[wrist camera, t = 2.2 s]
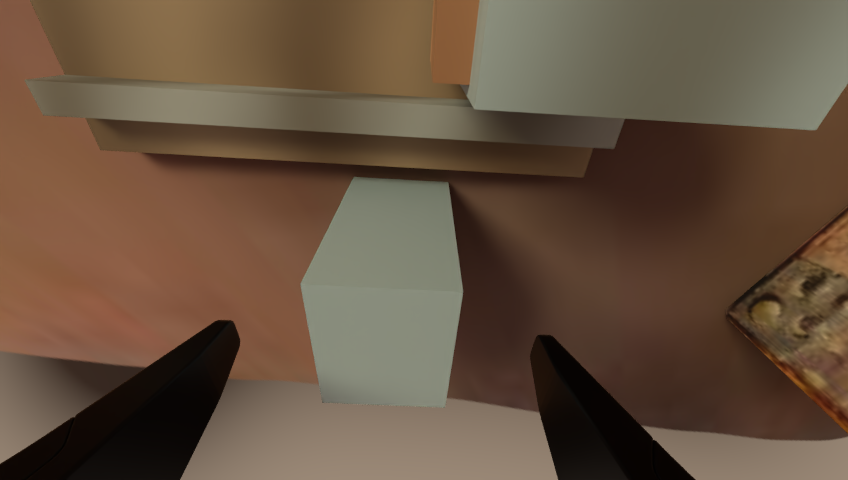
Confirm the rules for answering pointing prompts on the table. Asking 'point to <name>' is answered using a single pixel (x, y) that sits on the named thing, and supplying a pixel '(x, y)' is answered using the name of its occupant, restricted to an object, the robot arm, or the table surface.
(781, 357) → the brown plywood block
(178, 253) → the table surface
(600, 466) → the robot arm
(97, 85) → the rail
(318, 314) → the grey green block
